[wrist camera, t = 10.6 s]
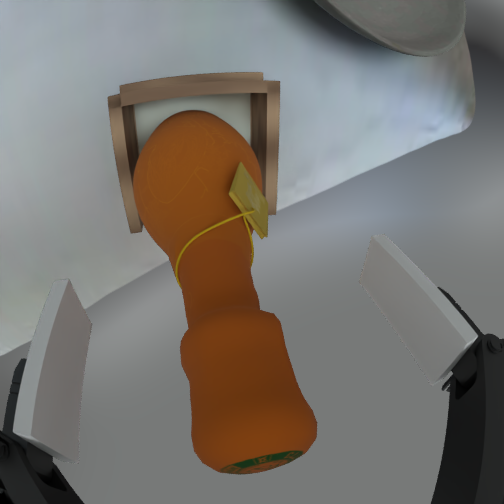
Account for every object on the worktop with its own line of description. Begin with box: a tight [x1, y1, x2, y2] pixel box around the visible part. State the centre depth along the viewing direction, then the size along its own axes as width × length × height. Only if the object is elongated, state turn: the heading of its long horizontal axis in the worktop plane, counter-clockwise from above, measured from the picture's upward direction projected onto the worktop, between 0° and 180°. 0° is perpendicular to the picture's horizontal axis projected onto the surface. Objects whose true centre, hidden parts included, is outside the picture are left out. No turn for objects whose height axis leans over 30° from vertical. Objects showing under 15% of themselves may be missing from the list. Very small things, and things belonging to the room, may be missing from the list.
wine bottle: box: [133, 110, 317, 474], centre depth 17 cm, size 10×10×30 cm
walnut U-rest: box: [108, 72, 280, 233], centre depth 27 cm, size 16×16×7 cm
